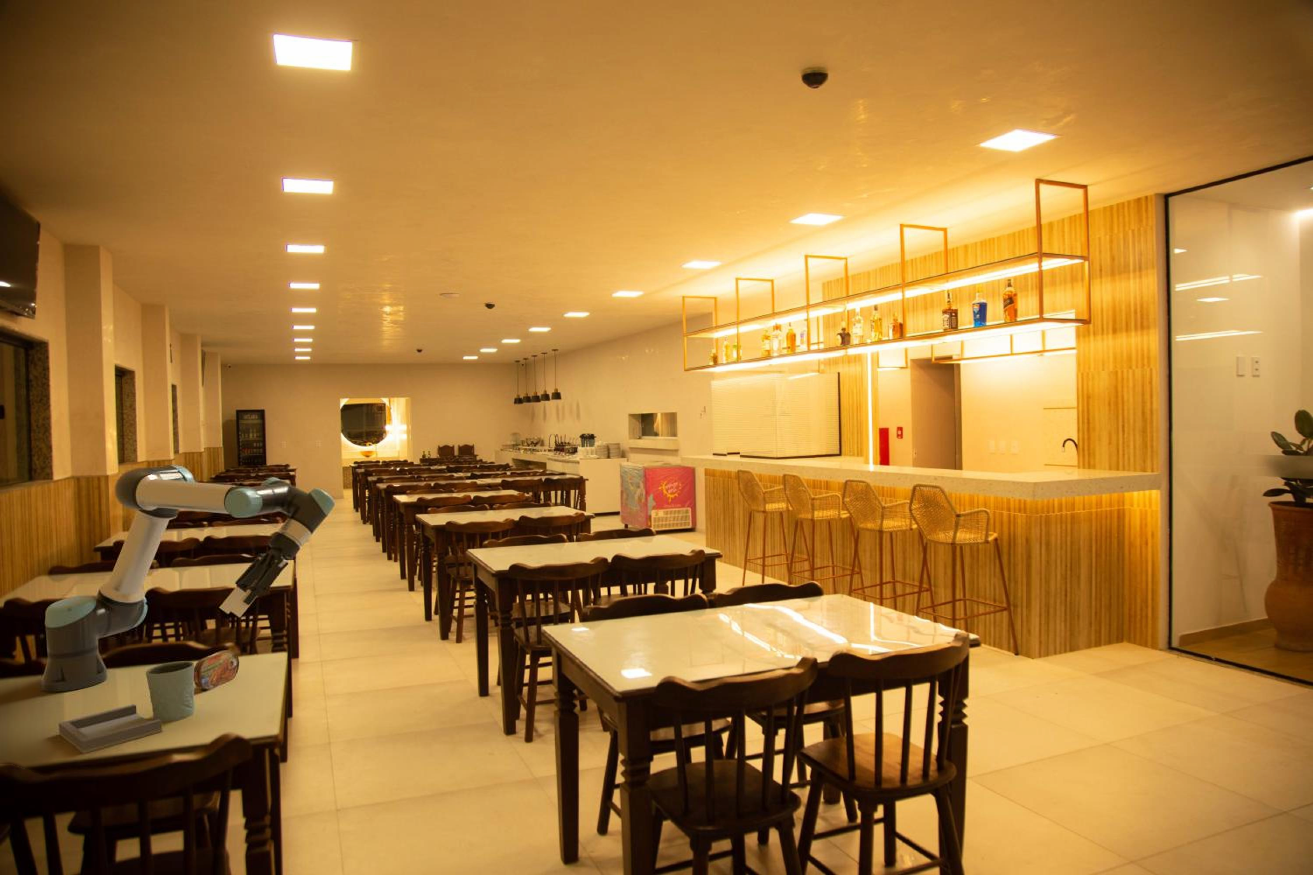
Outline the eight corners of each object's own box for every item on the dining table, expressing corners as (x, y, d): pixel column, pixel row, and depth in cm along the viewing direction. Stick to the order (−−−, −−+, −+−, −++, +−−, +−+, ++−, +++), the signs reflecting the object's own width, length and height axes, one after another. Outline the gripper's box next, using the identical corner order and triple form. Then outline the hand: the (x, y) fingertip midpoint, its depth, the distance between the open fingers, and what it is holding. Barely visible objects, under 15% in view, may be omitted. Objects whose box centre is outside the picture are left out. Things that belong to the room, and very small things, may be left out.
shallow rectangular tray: (59, 734, 197) (58, 722, 197) (134, 714, 209) (133, 704, 209) (83, 753, 184) (82, 741, 184) (162, 731, 196) (161, 720, 196)
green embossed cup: (206, 711, 209) (203, 663, 209) (167, 725, 200) (164, 675, 199) (178, 707, 213) (175, 659, 213) (139, 720, 204) (136, 671, 204)
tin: (202, 693, 223) (200, 661, 223) (191, 693, 224) (189, 661, 224) (240, 676, 238) (239, 646, 238) (231, 675, 239) (229, 646, 239)
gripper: (316, 550, 224) (257, 625, 212) (283, 545, 237) (225, 615, 225) (295, 533, 220) (233, 608, 208) (263, 529, 233) (203, 599, 221)
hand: (229, 612), depth 217 cm, fingers open, 6 cm apart
